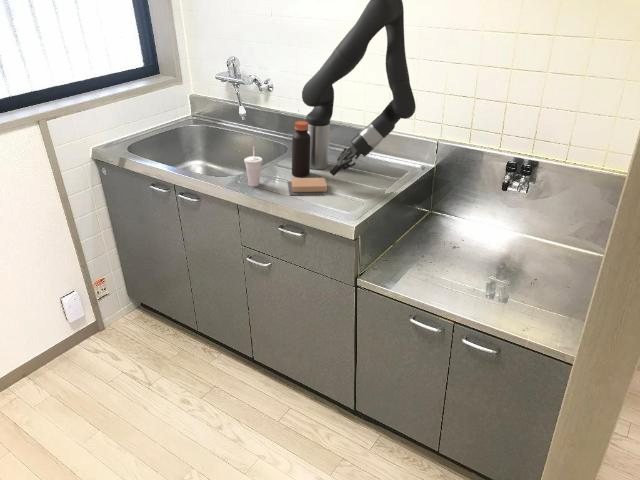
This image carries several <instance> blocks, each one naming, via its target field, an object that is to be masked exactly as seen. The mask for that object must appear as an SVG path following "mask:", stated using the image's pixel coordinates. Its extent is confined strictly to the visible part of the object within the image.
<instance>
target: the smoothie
mask: <svg viewBox="0 0 640 480" xmlns="http://www.w3.org/2000/svg"><path fill="white" fill-rule="evenodd" d="M255 149H256V148H255V146H252V155H251V156H250V155H249V156H247V157H245V158H244V160H243V161H244V164H245V168H246V169H245V170H246V175H247V180H248V186H250V187H258V186H259V185H260V180H261V172H262V171H261V170H262V164H263V158H262V157H260V156H255V155H256V154H255V153H256V151H255Z"/></svg>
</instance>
